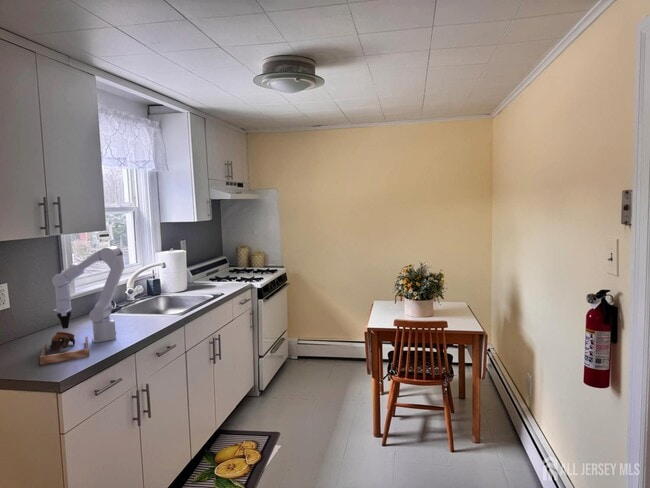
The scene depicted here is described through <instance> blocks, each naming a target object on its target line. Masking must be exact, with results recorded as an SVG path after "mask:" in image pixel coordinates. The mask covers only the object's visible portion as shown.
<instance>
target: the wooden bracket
mask: <svg viewBox="0 0 650 488" xmlns="http://www.w3.org/2000/svg"><path fill="white" fill-rule="evenodd" d="M84 341H85V349H84V348H83V349H78V350H71V351H66V352H61V353H55V354H54V353H53V354H47V355H46V353H47V349H48V347H47V342H44V343H43V344H42V349H41V353H40V356H39V365H47V364H53V363H58V362H64V361H70V360H69V359H71V360H75V359H74V358H76V359H81V357H82V358H87V356H88V357H90V349H89V339H88V336H85V337H84Z"/></svg>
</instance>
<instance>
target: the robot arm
mask: <svg viewBox="0 0 650 488" xmlns="http://www.w3.org/2000/svg"><path fill="white" fill-rule="evenodd" d="M101 261H102V262H104V263H105V264H106V265H107V266H108V267H109V269H110V270H109V272H108V275H107V277H106V281H105V283H104V286H103V288H102V292H101V294H100V295H99V298H98V301H97V302H96V303H95V305H94V307H93V309H91V310H90V312H89V314H88V316H89V320H90V321H92V323H91V324H92V334H93V337H92V343H94V344H95V343H100V342H108V341H113V340H116V339H117V336H116V335H117V330H116V324H115V323H116V321H115V319H114V318H113V319H110V316H111V315H112V305H113V304H112V301H113V298H114V295H115V294H116V291H117V288H118V284H119V282H120V280H121V277H122V274H123V273H124V269H125V264H124V263H125V262H124V252H123V251H122V249H121V248H120V247H118V245H117V246H116V245H112V246H108V247H103V248H102V249H99V250H97V251H96V252H94V253H93V254H91V255H90V256H88V257H87V258H86V259H84V260H83V261H81V262H80V263H70V264H69V267H68V268H66V269H63V270H61V271H60V273H57V274H55V275H54V276H53V277H52V279H51V282H52V285H53V286H54V289H55V290H54V291H55V305H56V308H55V309H53V312H57V314H56V316H57V318H58V319H59V321H60V324H61V328H62V329H63V330H64V329H68V328H69V324H70V318H71V316H72V303H71V289H70V287H71V286H70V284H71V283H72V282H73V281H74V280H75V279H77V278H78V277H80V276H82V275H83V274H84V273H85V269H88V268H89V267H91V266H93V264H95V263H97V262H101Z"/></svg>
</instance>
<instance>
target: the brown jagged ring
mask: <svg viewBox="0 0 650 488" xmlns="http://www.w3.org/2000/svg"><path fill="white" fill-rule="evenodd" d="M75 336H76V335H75V334H73V333H70V332H63V331H57V332H56V333H55V335H53V336H52V338H51V343H50V345H49V351H55V352H60V351H61V348H62V349H68V347H69V344H70V342H71V343H72V345H73V346H75V344H76V339H75Z"/></svg>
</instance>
